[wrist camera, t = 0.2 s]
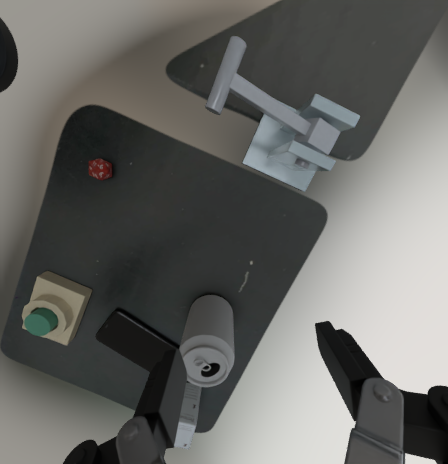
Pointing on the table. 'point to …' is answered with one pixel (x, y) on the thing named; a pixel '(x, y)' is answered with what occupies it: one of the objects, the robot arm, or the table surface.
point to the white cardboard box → (188, 416)
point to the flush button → (41, 321)
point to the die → (100, 169)
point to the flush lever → (266, 102)
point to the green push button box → (59, 304)
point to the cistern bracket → (295, 144)
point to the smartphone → (133, 340)
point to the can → (208, 341)
